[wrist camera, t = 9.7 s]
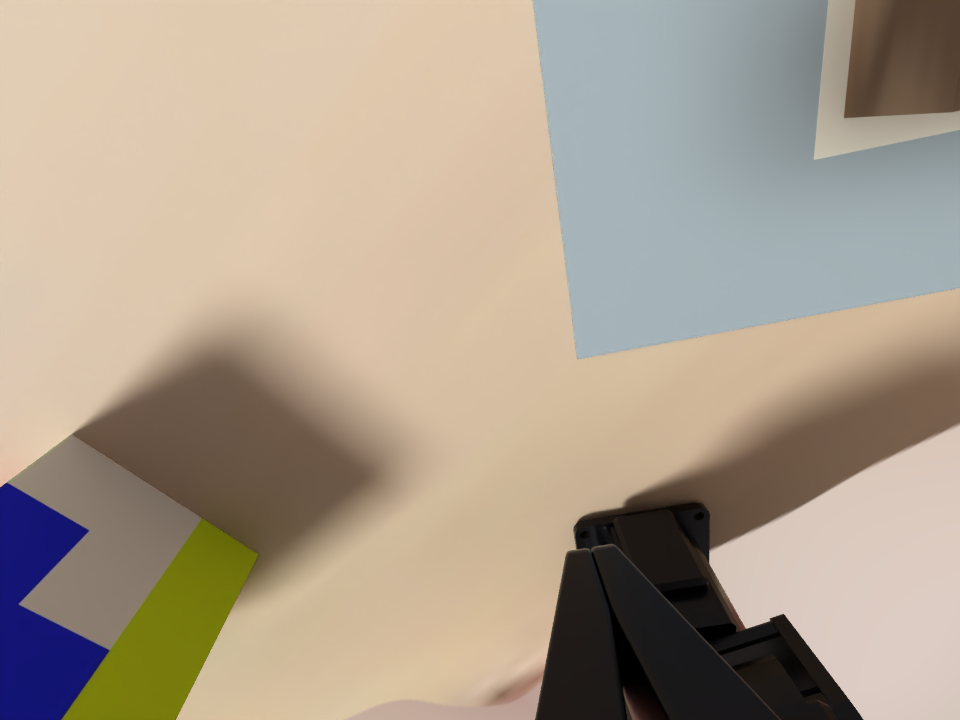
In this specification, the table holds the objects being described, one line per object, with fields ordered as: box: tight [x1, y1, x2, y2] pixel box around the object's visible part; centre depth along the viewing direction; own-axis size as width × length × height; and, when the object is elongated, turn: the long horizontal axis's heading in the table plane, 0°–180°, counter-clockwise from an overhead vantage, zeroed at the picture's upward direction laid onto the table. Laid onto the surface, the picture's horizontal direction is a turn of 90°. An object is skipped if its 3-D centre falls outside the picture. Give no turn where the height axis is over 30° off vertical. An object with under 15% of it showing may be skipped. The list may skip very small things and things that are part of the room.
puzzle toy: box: [0, 434, 258, 720], centre depth 20 cm, size 10×10×10 cm
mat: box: [533, 0, 960, 359], centre depth 15 cm, size 18×22×1 cm
